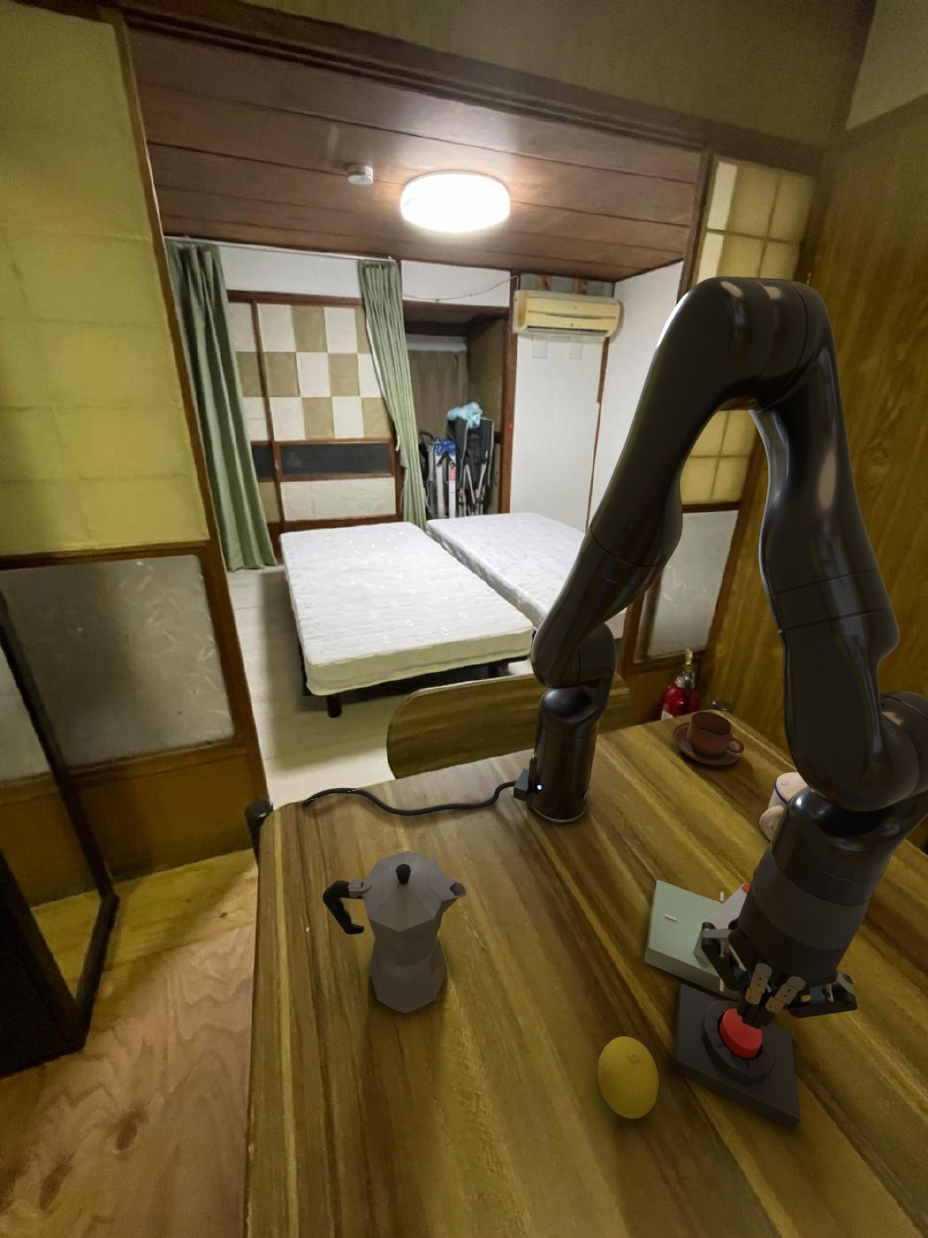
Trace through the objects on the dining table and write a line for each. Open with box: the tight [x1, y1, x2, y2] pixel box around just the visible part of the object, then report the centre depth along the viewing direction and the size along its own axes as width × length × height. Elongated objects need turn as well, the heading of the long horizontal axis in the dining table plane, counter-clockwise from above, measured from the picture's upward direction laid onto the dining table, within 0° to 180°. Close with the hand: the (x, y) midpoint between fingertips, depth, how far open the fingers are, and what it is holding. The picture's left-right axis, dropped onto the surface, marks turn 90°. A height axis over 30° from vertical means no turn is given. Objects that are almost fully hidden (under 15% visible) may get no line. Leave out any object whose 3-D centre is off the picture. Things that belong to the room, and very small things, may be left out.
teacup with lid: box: [758, 771, 807, 842], centre depth 77 cm, size 12×9×12 cm
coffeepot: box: [322, 850, 467, 1015], centre depth 57 cm, size 15×9×18 cm, turn 90°
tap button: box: [720, 1009, 763, 1058], centre depth 52 cm, size 4×4×2 cm
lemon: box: [597, 1035, 660, 1120], centre depth 49 cm, size 6×6×8 cm
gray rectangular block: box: [693, 882, 750, 966], centre depth 61 cm, size 9×2×6 cm, turn 125°
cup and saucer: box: [672, 711, 745, 767], centre depth 96 cm, size 12×12×6 cm
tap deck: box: [643, 879, 745, 1002], centre depth 63 cm, size 15×13×3 cm
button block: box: [671, 983, 801, 1131], centre depth 53 cm, size 11×8×4 cm
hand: (749, 1016), depth 51 cm, fingers closed
